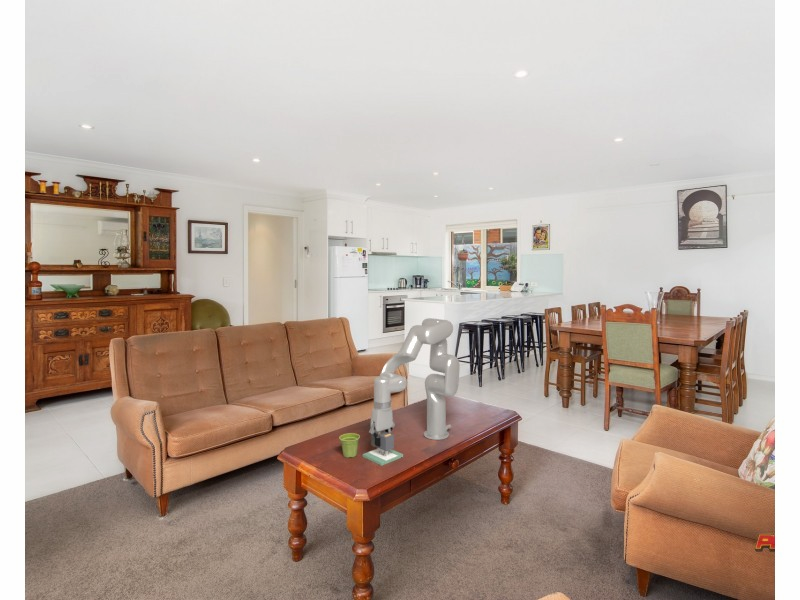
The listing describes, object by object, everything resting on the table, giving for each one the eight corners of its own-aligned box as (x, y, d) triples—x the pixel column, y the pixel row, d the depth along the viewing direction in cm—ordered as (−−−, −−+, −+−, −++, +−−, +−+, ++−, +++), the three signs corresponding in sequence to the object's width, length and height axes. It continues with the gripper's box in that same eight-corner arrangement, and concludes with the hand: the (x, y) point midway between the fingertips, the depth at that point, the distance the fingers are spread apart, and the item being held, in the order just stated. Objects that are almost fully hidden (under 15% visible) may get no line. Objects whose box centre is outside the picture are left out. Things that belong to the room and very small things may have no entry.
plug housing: (379, 441, 212) (379, 428, 211) (394, 448, 204) (393, 434, 204) (371, 444, 208) (370, 431, 208) (385, 451, 201) (385, 437, 200)
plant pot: (335, 456, 207) (334, 437, 207) (348, 449, 215) (348, 431, 215) (351, 461, 202) (350, 442, 202) (364, 453, 210) (364, 435, 209)
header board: (383, 448, 216) (383, 437, 215) (403, 456, 207) (403, 445, 206) (362, 456, 207) (362, 445, 206) (381, 465, 198) (381, 453, 197)
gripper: (390, 399, 213) (390, 436, 215) (362, 406, 202) (362, 446, 203) (401, 402, 208) (401, 441, 209) (373, 410, 196) (373, 451, 198)
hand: (382, 443), depth 206 cm, fingers closed on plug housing, 5 cm apart
